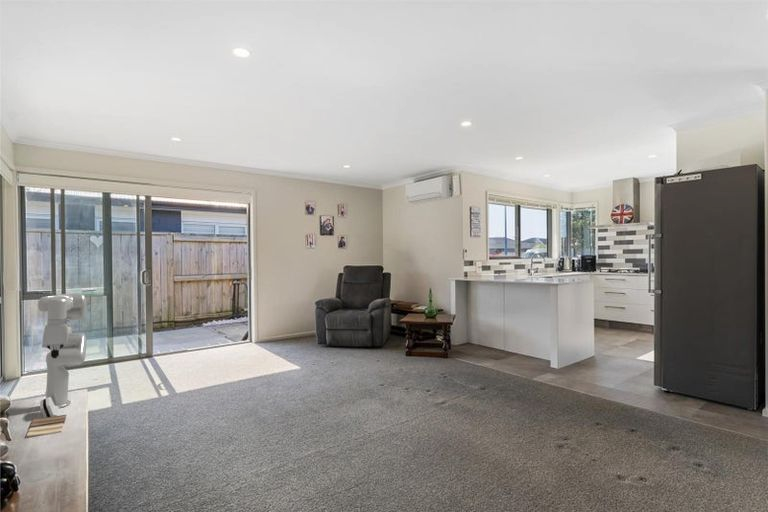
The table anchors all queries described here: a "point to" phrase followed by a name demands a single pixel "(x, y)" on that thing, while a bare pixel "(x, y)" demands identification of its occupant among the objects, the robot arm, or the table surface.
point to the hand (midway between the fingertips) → (54, 357)
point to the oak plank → (44, 430)
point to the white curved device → (48, 407)
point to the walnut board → (48, 421)
